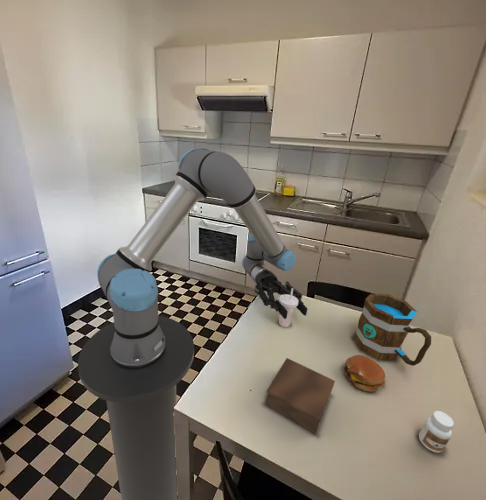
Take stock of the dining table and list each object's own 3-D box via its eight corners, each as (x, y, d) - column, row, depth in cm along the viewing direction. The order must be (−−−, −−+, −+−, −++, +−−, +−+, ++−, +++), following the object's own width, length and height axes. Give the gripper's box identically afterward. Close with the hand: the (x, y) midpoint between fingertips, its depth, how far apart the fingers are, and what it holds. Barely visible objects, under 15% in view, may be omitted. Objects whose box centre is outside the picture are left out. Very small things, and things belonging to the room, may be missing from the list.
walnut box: (264, 405, 66) (266, 390, 64) (284, 371, 75) (286, 357, 74) (316, 436, 60) (321, 420, 58) (330, 395, 69) (335, 380, 67)
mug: (343, 335, 91) (355, 296, 85) (373, 327, 95) (386, 289, 89) (398, 383, 74) (417, 339, 68) (431, 370, 79) (451, 328, 73)
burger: (381, 371, 77) (385, 359, 75) (383, 398, 69) (389, 385, 68) (343, 359, 81) (347, 347, 79) (341, 383, 73) (345, 370, 71)
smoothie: (290, 332, 91) (297, 295, 85) (272, 324, 94) (277, 289, 88) (296, 322, 96) (303, 286, 90) (278, 315, 99) (284, 280, 93)
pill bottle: (421, 449, 59) (435, 424, 56) (415, 429, 62) (427, 405, 59) (446, 456, 57) (461, 432, 54) (438, 436, 61) (451, 412, 58)
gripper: (285, 283, 112) (319, 319, 92) (240, 289, 106) (266, 328, 86) (287, 267, 109) (324, 299, 89) (241, 271, 103) (269, 307, 83)
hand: (295, 313), depth 87 cm, fingers closed on smoothie, 6 cm apart
